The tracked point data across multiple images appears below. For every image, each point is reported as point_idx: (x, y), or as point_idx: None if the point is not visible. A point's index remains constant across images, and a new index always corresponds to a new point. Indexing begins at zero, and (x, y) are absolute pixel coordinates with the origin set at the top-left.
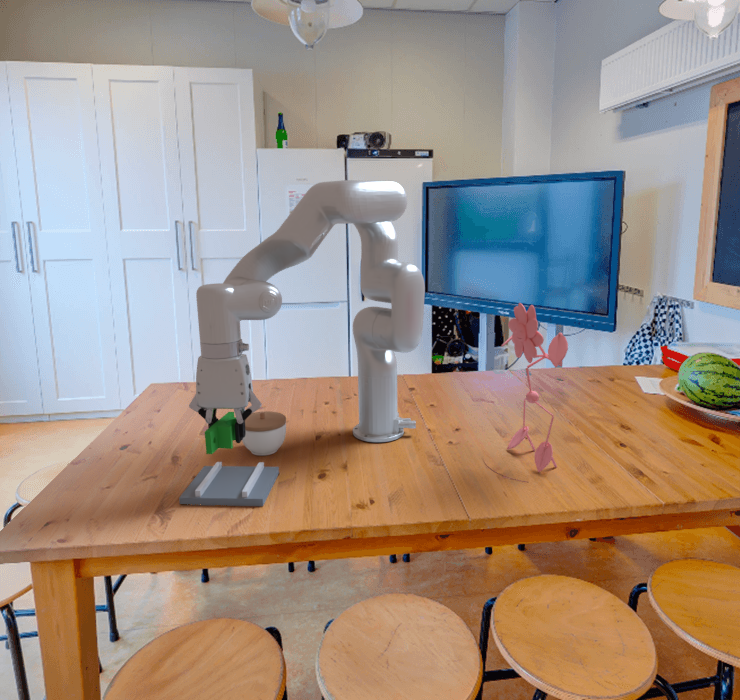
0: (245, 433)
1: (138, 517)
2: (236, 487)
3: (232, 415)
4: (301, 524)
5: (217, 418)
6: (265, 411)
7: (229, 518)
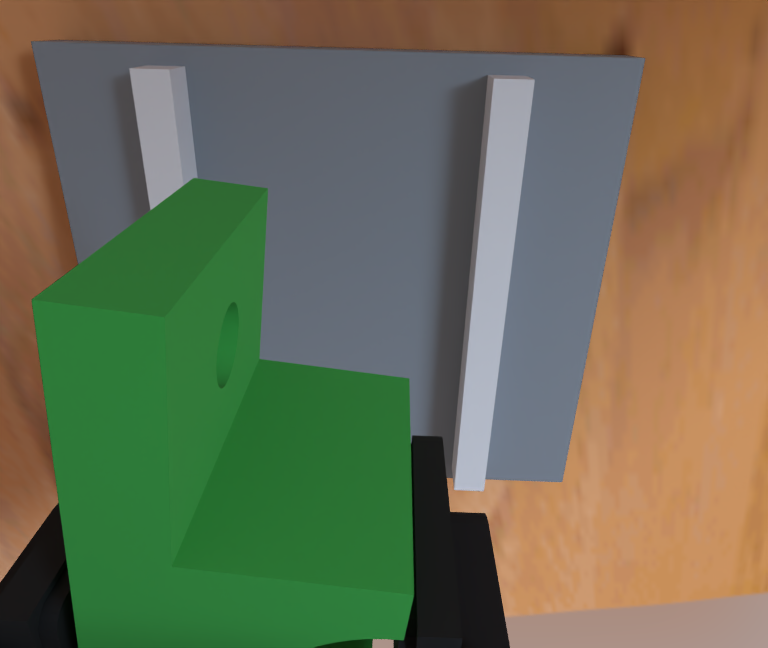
0: (486, 524)
1: (16, 524)
2: (391, 368)
3: (184, 381)
4: (729, 577)
5: (24, 631)
6: None
7: None
